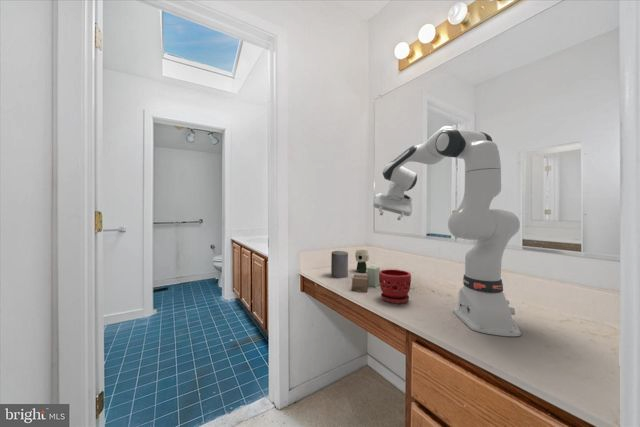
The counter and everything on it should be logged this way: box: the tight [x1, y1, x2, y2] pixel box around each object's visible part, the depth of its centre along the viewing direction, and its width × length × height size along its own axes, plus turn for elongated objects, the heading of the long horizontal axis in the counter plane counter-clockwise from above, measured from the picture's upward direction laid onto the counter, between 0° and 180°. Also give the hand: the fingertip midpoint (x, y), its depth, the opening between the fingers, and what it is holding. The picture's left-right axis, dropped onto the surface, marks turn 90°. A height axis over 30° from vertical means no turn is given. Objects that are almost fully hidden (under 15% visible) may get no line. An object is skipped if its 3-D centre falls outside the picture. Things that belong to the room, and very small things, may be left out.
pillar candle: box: [330, 249, 349, 279], centre depth 145 cm, size 10×10×15 cm
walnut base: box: [351, 274, 370, 293], centre depth 122 cm, size 7×7×6 cm
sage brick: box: [366, 265, 381, 288], centre depth 128 cm, size 4×4×9 cm
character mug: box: [354, 249, 369, 273], centre depth 155 cm, size 11×7×13 cm, turn 35°
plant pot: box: [379, 269, 412, 304], centre depth 108 cm, size 13×13×12 cm
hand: (389, 217), depth 133 cm, fingers open, 8 cm apart
